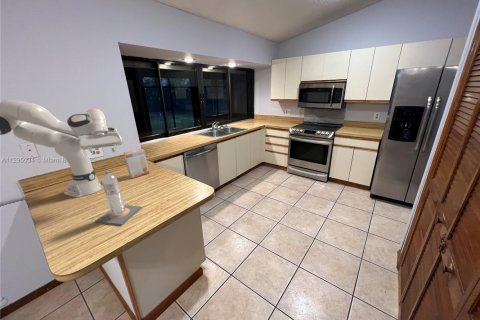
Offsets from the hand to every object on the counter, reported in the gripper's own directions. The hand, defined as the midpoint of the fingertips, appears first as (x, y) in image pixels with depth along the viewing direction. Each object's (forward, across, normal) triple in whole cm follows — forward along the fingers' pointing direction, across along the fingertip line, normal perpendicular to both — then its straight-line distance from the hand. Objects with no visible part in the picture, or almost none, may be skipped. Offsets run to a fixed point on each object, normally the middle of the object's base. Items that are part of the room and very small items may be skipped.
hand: (104, 152), depth 111 cm
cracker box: (-4, +19, +50) cm, 54 cm away
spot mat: (+34, +1, +11) cm, 36 cm away
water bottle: (+34, +1, +10) cm, 35 cm away
